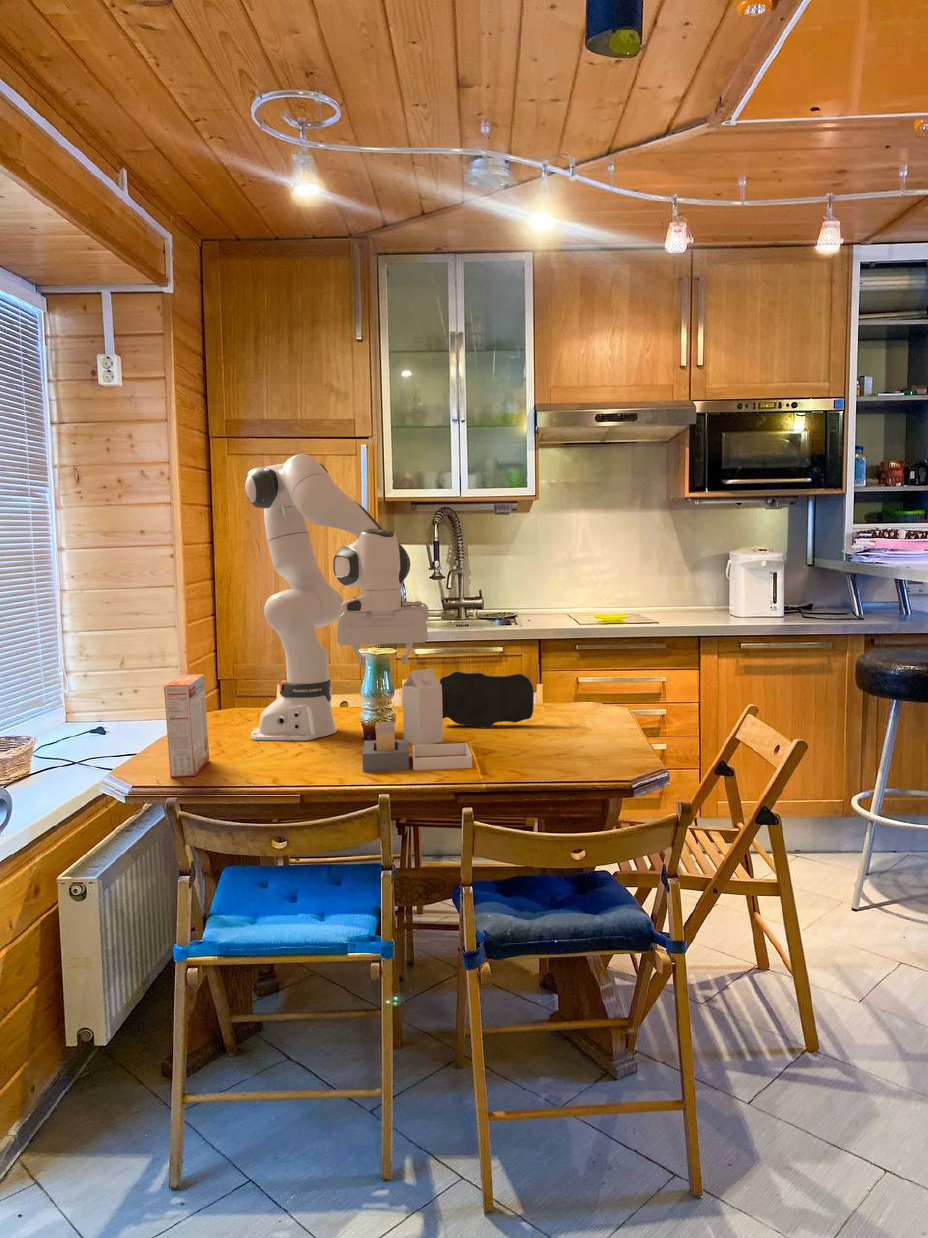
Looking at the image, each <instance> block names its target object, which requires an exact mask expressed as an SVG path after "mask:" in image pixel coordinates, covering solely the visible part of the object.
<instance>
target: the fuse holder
mask: <svg viewBox="0 0 928 1238" xmlns="http://www.w3.org/2000/svg"><path fill="white" fill-rule="evenodd" d="M409 763H410V761H409V743H408V739H404V738H403V739H402V738H401V739H395V750H386V751H377V748H376V739H375V740H364V741H363V748H362V772H363V773H374V772H375V773H376V772H377V773H378V772H379V773H380V772H397V771H398V772H399V771H400V772H401V771H409V770H410V764H409Z"/></svg>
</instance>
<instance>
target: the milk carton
mask: <svg viewBox="0 0 928 1238" xmlns="http://www.w3.org/2000/svg"><path fill="white" fill-rule="evenodd" d="M401 690H402V715H403V716H402V719H403V721H402V722H403V725H402V726H403V739H408V744H412V745H433V744H437V743H441V742H444V725H443V724H444V723H443V721H444V719H443V713H442V685H441V684H440V680H439V679H438V678H437V676H436V675H435V672H434V668H426V669H425V668H424V669H421V670H419V669H418V670H413V671H411V670H410V671H409V677H408V678H407V679H406V680H405V681H404V683H403V684H402V689H401Z"/></svg>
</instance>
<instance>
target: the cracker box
mask: <svg viewBox="0 0 928 1238" xmlns="http://www.w3.org/2000/svg"><path fill="white" fill-rule="evenodd" d="M205 685H206V684H205V674H181V675H179V676H178V677H176V678H174V679H173V680H172V681H169V682H168V683H166V684H165V685H164V686H163V692H164V704H165V717H166V718H165V719H166V733H167V749H168V761H169V773H170V774H169V775H170V778H185V777H187V778H188V777H196V776H197V775H198V773H200V771H201V770H203V768H204V766H205V765H206V764H207V763H208V761H210V752H209V751H210V750H209V733H208V717H207V703H206V702H207V701H206V688H205V687H206V686H205Z"/></svg>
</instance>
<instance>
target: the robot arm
mask: <svg viewBox="0 0 928 1238" xmlns="http://www.w3.org/2000/svg"><path fill="white" fill-rule="evenodd" d="M327 469H328V468H326V467H325V466H324V464H322V463H321V462H318V461H317V460H316V458H314V457H312V455H311V456H310V455H309V454H306V453H304V454H303V453H299V454H296V455H293V456H291V457H290V458H288V459H287V460H286V462H284V463H279V464H273V465H267V466H259V467H255V468H253V469H250V470H249V471H248V473H247V474H246V476H245V481H244V482H245V483H244V484H245V487H244V488H245V489H244V490H245V493H246V496H247V499H248V501H249V503H250V504H252V506H253V507H255V508H259V509H263V520H264V530H265V537H266V541H267V545H268V546H267V547H268V550H269V553H270V554H269V555H270V559H271V561H272V566H273V569H274V571H275V573H277V574H278V576H281V577H282V578H283V579H284V580H285V581H286V583H287V584H288V586H289V587H290V589H284V590H282V591H280V592H276V593H275V594H272V595H271V596H270V597H268V598H267V600H266V602H265V604H264V608H263V613H264V618H265V621H266V623H267V624H268V626H269V627H270V628H271V629H273V630H274V631H275V632H276V634H277V635H278V637H279V639H280V641H281V644H282V646H283V650H284V655H285V666H286V680H282V681H280V683H279V694H280V695H279V697H277V698H276V699H274V701H272V702H271V703H270V704H269V705H268V706H267V707H266V708H264V709H263V710H262V712H261V714H260V716H259V717H260V718H259V724H258V726H257V727H255V728H254V729H253V730H252V731H251V733H250V734H251V735H250V738H251V739H252V740H254V741H311V740H314V739H317V738H322V737H326V736H331V735H332V734H335V733H337V732H338V730H337V726H336V723H335V720H334V719H335V718H334V715H333V709H332V703H331V700H332V694H333V693H332V683H331V681H332V680H331V679H330V675H329V672H330V671H329V653H328V650H327V649H326V647H325V646H324V645H322V644H321V643H320V641H319V639H318V637H317V633H316V628H322V627H327V626H330V625H331V624H333V623H335V622H337V621H338V622H337V627H336V642H337V644H338V645H339V646H353V647H352V649H353V650H352V651H353V652H354V653H355V655H356V657H357V658H358V666H366V663H367V660H366V656H365V655H362V654H361V652H360V648H361V646H362V645H363V646H364V645H365V646H367V645H391V644H394V645H396V644H405V648H406V649H407V650H406V651H405V654H401V656H400V658H401V659H400V660H401V661H400V662H401V664H408V663H409V656H410V653H411V652H412V649H413V644H418V643H419V644H422V643H423V644H424V643H426V642H427V641H428V639H429V632H428V625H427V620H428V619H429V616H430V615H429V614H430V612H429V606H428V605H427V604H426V603H424V602H422V601H421V600H420V601H419V600H417V601H402V587H401V584H402V583H403V582H404V581H405V579H406V578H407V577H408V575H409V573H410V571H411V559H410V556H409V554H408V552H407V551H406V548H404V547H403V545H401V544H400V543H399V542H398V537H397V535H396V534H395V533H394V532H393V531H392V530H389V529H385V528H384V529H383V528H382V526H380V525H381V524H379V523H378V522H377V521H376V520H375V518H374V517H373V516H372V515H371V514H370V513H369V512H368V511H367V509H365V508H364V507H363V506H362V505H361V504H359V503H358V502H357V501H355V500H354V499H353V498H351V497H350V496H349V495H347V494H346V493H345V492H344V491H343V490H342V489H341V488H340V487H339V486H338V485H337V484H336V483H335V482H334V480H333V479H332V477H331V476H330V474H329V472H328V470H327ZM306 521H308V522H309V523H311V524H313V525H317V526H323V527H327V528H328V527H329V528H332V529H333V528H334V529H339V530H342V531H345V532H348V533H350V534H352V535H354V536H355V537H356V538H357V539H356V540H355V541H353V542H350V543H349V544H347V545H344V546H341V547H340V548H339V549H338V550H337V551H336V553H335V555H334V557H333V560H332V561H333V563H332V564H333V565H332V567H333V573H334V575H335V578H336V579H337V581H338V582H339V583H340V584H341V585H343V586H346V587H351V588H352V587H353V588H354V587H355V588H356V587H361V588H360V595H359V596H354V597H352V598H350V599H347V600H345V601H344V600H343V596H342V595H341V594H340V592H339V591H337V590H336V589H334V588H333V586H331V584H330V583H329V582H328V580H327V579H326V578H325V576H324V573H322V571H321V568H320V567H319V564H318V562H317V559H316V557H315V553H314V548H313V545H312V541H311V536H310V534H309V530H308V526H307V523H306Z"/></svg>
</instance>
